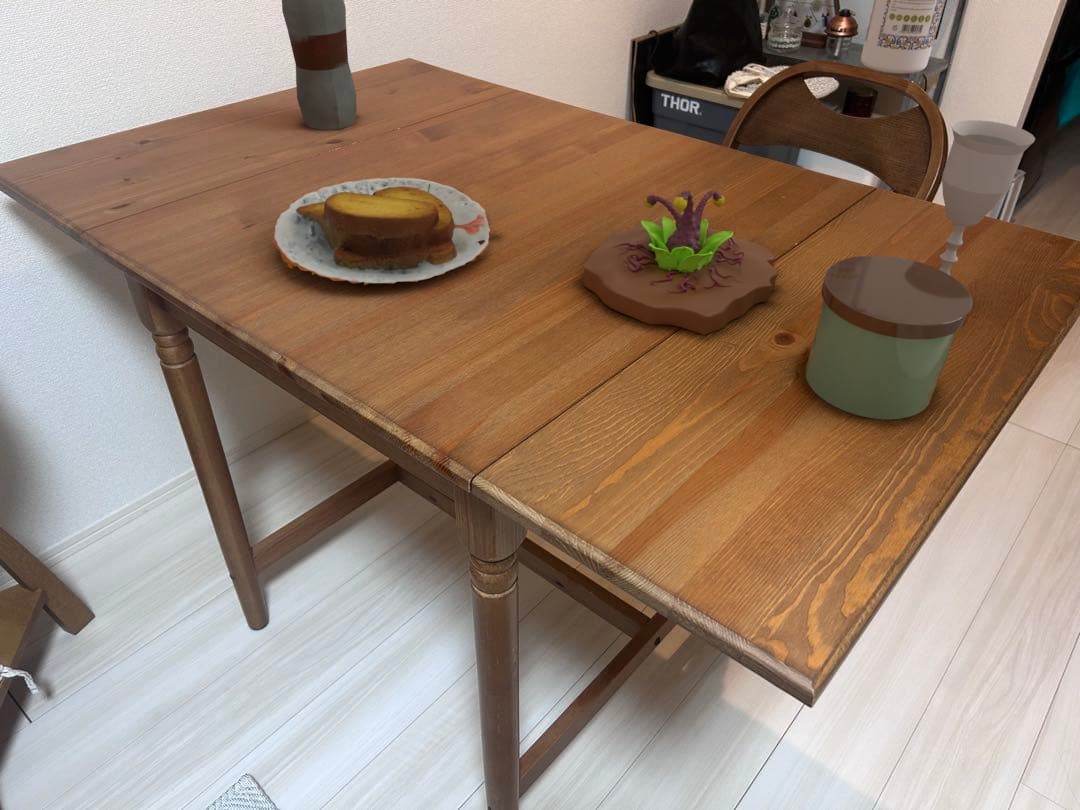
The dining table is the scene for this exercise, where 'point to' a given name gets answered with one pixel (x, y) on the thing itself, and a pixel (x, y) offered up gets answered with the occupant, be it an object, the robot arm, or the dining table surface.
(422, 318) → the dining table surface
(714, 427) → the dining table surface
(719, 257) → the plant
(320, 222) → the food on plate
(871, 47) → the bath foam
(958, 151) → the chalice
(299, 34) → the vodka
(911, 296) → the canister
